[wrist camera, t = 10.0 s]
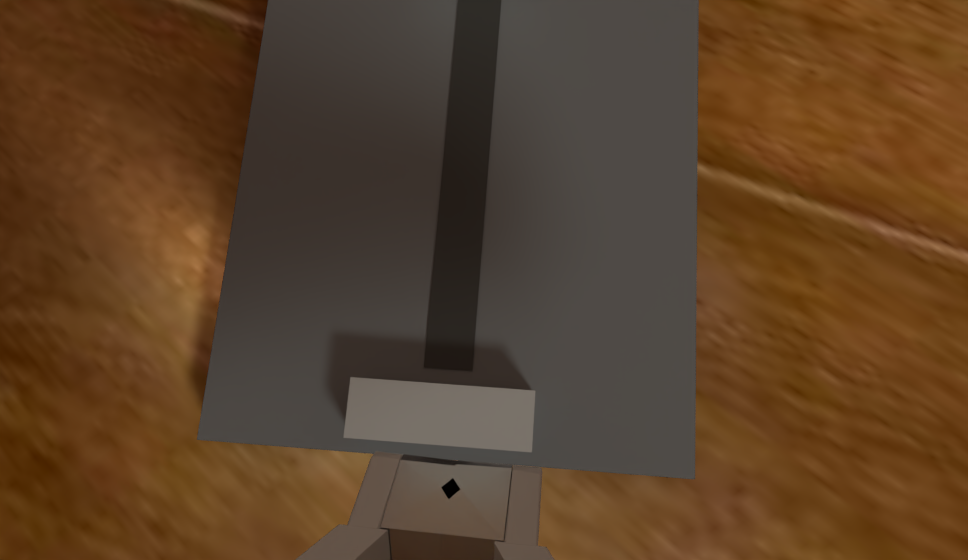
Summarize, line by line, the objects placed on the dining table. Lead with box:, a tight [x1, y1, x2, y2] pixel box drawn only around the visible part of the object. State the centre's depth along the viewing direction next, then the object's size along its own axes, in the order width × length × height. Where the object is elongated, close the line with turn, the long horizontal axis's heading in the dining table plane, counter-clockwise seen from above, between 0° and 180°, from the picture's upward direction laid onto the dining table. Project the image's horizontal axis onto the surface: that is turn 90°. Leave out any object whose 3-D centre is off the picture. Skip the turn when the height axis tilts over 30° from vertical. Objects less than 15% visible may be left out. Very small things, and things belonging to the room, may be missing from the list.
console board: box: [197, 0, 698, 479], centre depth 21 cm, size 14×22×3 cm, turn 176°
